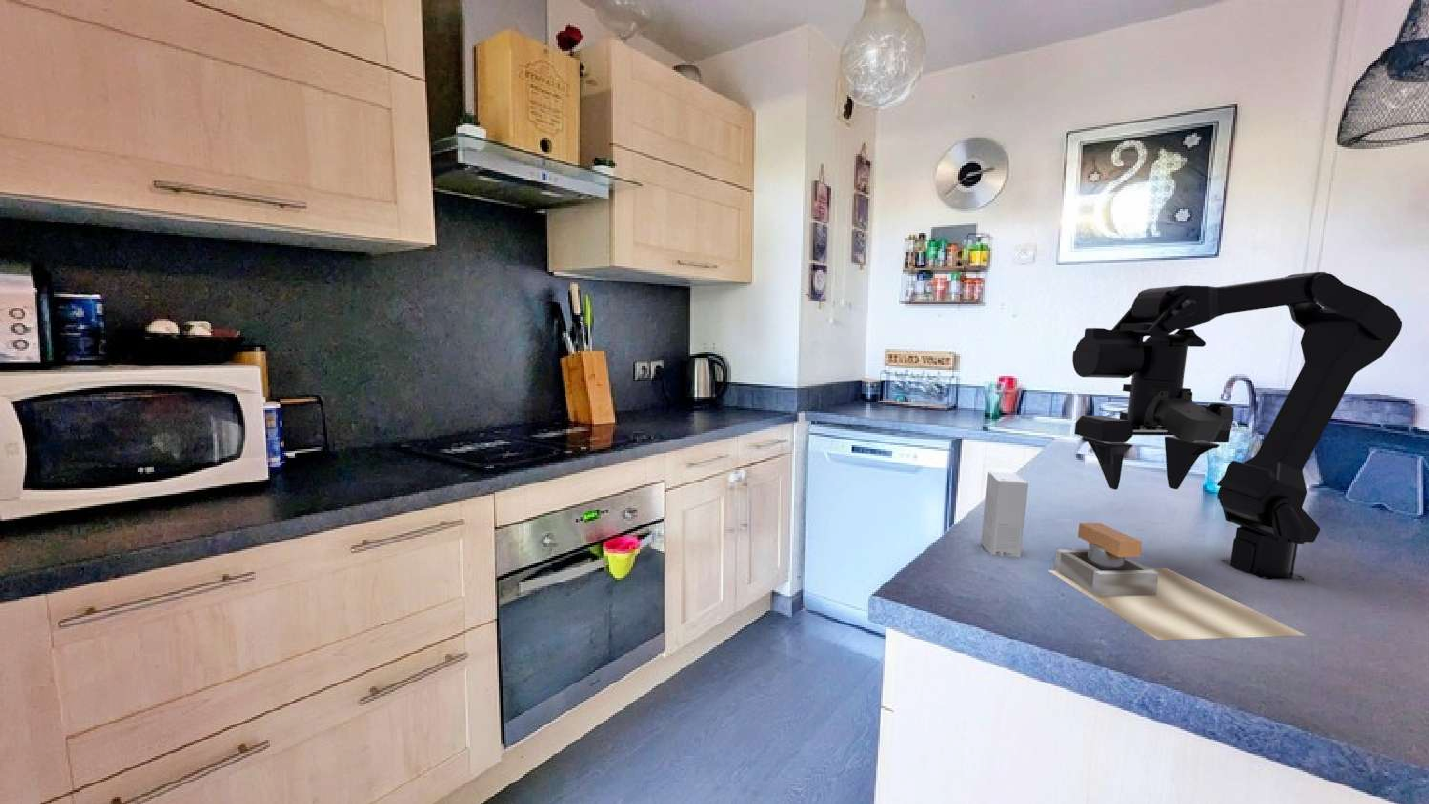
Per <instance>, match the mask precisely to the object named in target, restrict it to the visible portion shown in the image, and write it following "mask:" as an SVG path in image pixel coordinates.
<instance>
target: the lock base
mask: <svg viewBox="0 0 1429 804" xmlns="http://www.w3.org/2000/svg"><path fill="white" fill-rule="evenodd" d="M1088 553H1089V548H1078V549H1077V548H1074V549H1073V548H1070V549H1056V550H1055V561H1054V569H1047V571H1048V572H1049V573H1051V574H1052V575H1054V576H1055V577H1057V578H1058V579H1060V580H1061V581H1063V582H1065V583H1066V584H1069V586H1071V587H1072V588H1074V589H1076V590H1077V591H1079V592H1081V593H1082V594H1084V595H1085V596H1086V597H1089V598H1090V599H1092V600H1094V601H1095V602H1096V603H1098V604H1100V605H1101V606H1102V607H1104V608H1106V609H1107V610H1108V611H1110V612H1112V613H1114V614H1116V615H1117V616H1118V617H1120V618H1122V619H1123V620H1124V621H1125V622H1128V623H1129V624H1131V625H1133V626H1134V627H1136V628H1137V629H1139V630H1140V631H1142V632H1143V633H1144V634H1146V635H1148V636H1150V637H1151V638H1153V639H1155V641H1161V642H1162V641H1163V642H1164V641H1188V640H1191V641H1192V640H1193V641H1194V640H1216V639H1217V640H1218V639H1219V640H1221V639H1223V640H1225V639H1250V638H1281V637H1282V638H1283V637H1307V634H1304V633H1302V632H1301V631H1298V630H1296V629H1294V628H1292V627H1290V626H1288V625H1286V624H1284V623H1282V622H1280V621H1278V620H1275V619H1274V618H1272V617H1270V616H1267V615H1265V614H1263V613H1260V612H1259V611H1256V610H1255V609H1253V608H1251V607H1249V606H1246V605H1245V604H1242V603H1240V602H1238V601H1236V600H1233V599H1232V598H1230V597H1227V596H1226V595H1223V593H1222V594H1221V593H1219V592H1217V591H1215V590H1213V589H1212V588H1209V587H1207V586H1205V585H1203V584H1201V583H1199V582H1197V581H1194V580H1192V579H1190V578H1188V577H1186V576H1184V575H1182V574H1179V573H1178V572H1175V571H1173V570H1172V569H1169V568H1168V567H1147V566H1145V565H1144V564H1141V563H1139V562H1138V561H1135V560H1133V559H1131V558H1130V557H1125V562H1124V570H1114V571H1101V570H1099V569H1097V568H1095V567H1094V566H1092V565H1090V564H1088V563H1087V561H1088Z"/></svg>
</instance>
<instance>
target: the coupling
mask: <svg viewBox="0 0 1429 804" xmlns="http://www.w3.org/2000/svg"><path fill="white" fill-rule="evenodd" d="M1078 526H1079V527H1078V536H1077V537H1078V538H1079V539H1081V540H1083V541H1086V542H1087V543H1089V546H1088V549H1089V553H1088V561H1087V563H1088V564H1090V565H1092V566H1094V567H1095V568H1097V569H1099V570H1101V571H1114V570H1124V562H1125V557H1127V558H1140V557H1141V550H1142V543H1143V542H1142V541H1141V540H1138V539H1137V538H1134V537H1132V536H1130V535H1127V534H1125V533H1123V532H1121V531H1119V530H1118V529H1117V530H1116V529H1114V528H1112V527H1109V526H1107V525H1105V524H1103V523H1101V522H1079V525H1078Z"/></svg>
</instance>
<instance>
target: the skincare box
mask: <svg viewBox="0 0 1429 804" xmlns="http://www.w3.org/2000/svg"><path fill="white" fill-rule="evenodd" d="M986 478H987V479H986V488H985V499H984V501H985V502H984V509H983V511H984V512H983V520H982V521H983V522H982V532H981V533H982V534H981V545H982V547H983V548H984V549H985V551H986V552H989V553H990V555H991V556H1000V557H1001V556H1002V557H1011V558H1021V557H1022V548H1023V538H1024V537H1023V536H1024V527H1025V517H1026V506H1027V499H1028V498H1027V495H1028V487H1029V485H1028V482H1027V481H1026V480H1024V479H1023V478H1022V477H1020V476H1019V475H1018V474H1016V473H1015V472H1000V471H988V472H987V477H986Z"/></svg>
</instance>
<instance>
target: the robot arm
mask: <svg viewBox="0 0 1429 804" xmlns="http://www.w3.org/2000/svg"><path fill="white" fill-rule="evenodd" d="M1283 306H1287V308H1288V311H1289V315H1290V318H1291V320H1292V322H1294V323H1295V324H1296V325H1297V326H1299V327H1300V328H1301V329H1302V330H1304V331H1303V334H1302V337H1301V340H1300V346H1301V351H1302V355H1303V359H1304V363H1303V366H1302V368H1301V369H1300V372H1299V374H1298V375H1297V377H1296V379H1295V381H1294V383H1293V385H1292V386H1291V388H1290V390H1289V392H1288V394H1287V396H1286V398H1285V399H1284V402H1283V404H1282V405H1281V407H1280V409H1279V411H1278V413H1277V415H1276V416H1275V419H1274V420H1273V423H1272V424H1271V426H1270V428H1269V430H1268V432H1267V433H1266V435H1265V437H1264V439H1263V441H1262V442H1261V445H1260V447H1259V449H1258V451H1256V454H1255V455H1254V456H1253V457H1251V458H1249V459H1248V460H1246V461H1245V462H1240V461H1236V460H1232V461H1230V462H1229V464H1227V467H1226V471H1225V472H1224V475H1223V477H1222V478H1221V479H1220V480H1219V481H1218V482H1217V483H1216V485H1217V486H1218V487H1219V489H1218V491H1217V499H1218V500H1219V503H1220V506H1221V507H1222V509H1223V510H1222V511H1223V514H1224V519H1225V521H1226V522H1229V523H1233V524H1235V525H1237V527H1236V529H1235V531H1236V532H1235V537H1234V538H1233V541H1232V548H1231V552H1230V553H1231V556H1230V559H1221V560H1220V561H1221V562H1222V563H1225V564H1227V565H1230V566H1231V567H1233V568H1235V569H1237V570H1240V571H1243V572H1245V573H1247V574H1251V575H1253V576H1256V577H1257V578H1260V579H1263V580H1301V581H1304V582H1305V581H1306V577H1305V576H1303V575H1300V574H1297V573H1295V572H1294V569H1295V565H1296V564H1295V563H1296V557H1297V550H1298V545H1305V543H1309V544H1310V543H1314V542H1315V541H1316V539H1317V537H1318V535H1319V533H1320V532H1321V527H1319V525H1318V524H1317V523H1316V522H1315V521H1314V520H1313V518H1312V517H1311V516H1310V515H1309V514H1308V513H1307V511H1306V510H1304V508H1303V507H1304V503H1305V502H1306V501H1305V500H1306V498H1307V495H1308V490H1307V489H1308V488H1307V485H1306V479H1305V475H1304V468H1305V466H1306V464H1307V463H1308V461H1309V459H1310V457H1311V455H1312V454H1313V451H1314V450H1315V448H1316V446H1317V444H1318V442H1319V441H1320V438H1321V437H1322V435H1323V434H1324V431H1325V429H1326V428H1327V425H1329V422H1330V420H1331V418H1332V416H1333V415H1334V412H1335V411H1336V409H1337V408H1338V405H1339V404H1340V402H1341V400H1342V398H1343V396H1344V395H1345V393H1346V391H1347V389H1348V387H1349V386H1350V384H1351V382H1352V380H1353V378H1354V376H1355V375H1356V374H1357V373H1358V372H1360V371H1362V370H1363V369H1364V368H1366V367H1367V366H1370V365H1371V364H1373V363H1374V362H1376V361H1377V360H1378V359H1380V358H1382V357H1383V356H1384V355H1385V353H1386V352H1387V351H1388V349H1389V348H1390V347H1391V346H1392V344H1393V343H1394V342H1395V341H1396V339H1397V338H1398V336H1399V334H1400V333H1401V330H1402V328H1403V322H1402V320H1401V318H1400V316H1399V315H1398V313H1397V312H1396V310H1395V309H1394V308H1393V307H1391V306H1389V305H1387V304H1385V303H1383V302H1382V301H1381V300H1380V299H1379V298H1378V297H1377V296H1374V295H1372V294H1369V293H1367V292H1364V291H1362V290H1360V289H1357V288H1355V287H1353V286H1350V285H1348V284H1346V283H1344V282H1343V281H1341V280H1340V279H1339V278H1338V277H1337V276H1335V275H1334V274H1332V273H1328V272H1325V271H1315V272H1305V273H1304V272H1303V273H1293V274H1290V275H1289V274H1288V275H1287V276H1284V277H1279V278H1273V279H1272V278H1271V279H1264V280H1257V281H1251V282H1249V281H1248V282H1244V283H1237V284H1230V285H1223V286H1210V285H1190V284H1189V285H1188V284H1187V285H1175V286H1163V287H1162V286H1161V287H1153V288H1152V287H1150V288H1147V289H1144V290H1143V289H1142V290H1141V291H1139V292H1138V293H1137V296H1136V297H1135V298H1134V299H1133V301H1132V304H1131V307H1130V308H1129V309H1128V310H1127V312H1126V313H1125V314H1124V315H1123V316H1122V317H1121V318H1120V319H1119V320H1118V322H1117V323H1116V324H1115V325H1114V326H1113V327H1112V328H1111V329H1107V328H1102V327H1101V328H1100V327H1098V328H1097V327H1091V328H1090V327H1087V328H1085V329H1084V337H1082V338H1081V339H1080V340H1078V343H1077V345H1076V347H1075V349H1074V350H1073V351H1072V355H1071V356H1072V357H1071V359H1072V366H1073V370H1074V371H1075V374H1077V375H1078V376H1079V377H1081V378H1096V379H1097V378H1102V379H1103V378H1105V379H1127V378H1130V377H1131V379H1130V380H1131V381H1130V383H1123V387H1122V392H1128V393H1129V398H1128V406H1127V411H1126V412H1125V411H1123V412H1122V411H1121V412H1119V418H1117V417H1110V416H1106V415H1081V416H1080V417H1079V418H1078V419H1077V420H1076V422H1075V427H1074V435H1077V436H1081V438H1082V441H1085V442H1086V443H1087V442H1088V444H1089V446H1090V448H1091V450H1092V452H1093V454H1094V455H1095V457H1096V459H1097V461H1098V464H1099V466H1100V468H1101V471H1102V473H1103V476H1104V477H1105V480H1106V484H1107V485H1108V487H1109V488H1110V489H1111V490H1115V491H1116V490H1118V489H1119V486H1120V483H1121V482H1120V481H1121V476H1122V471H1123V462H1124V456H1125V454H1126V453H1127V452H1128V451H1129V450H1130V449H1131V448H1132V447H1133V444H1130V443H1128V441H1129V440H1130V439H1131V438H1132V437H1133V436H1164V448H1165V458H1166V459H1165V460H1166V461H1165V463H1166V464H1165V465H1166V478H1167V482H1168V483H1167V484H1168V487H1169V488H1170V489H1173V490H1178V489H1179V488H1180V486H1181V485H1182V483H1184V480H1185V479H1186V477H1187V475H1188V474H1189V472H1190V471H1191V468H1192V467H1193V466H1194V464H1195V463H1196V461H1197V460H1198V458H1199V457H1200V456H1201V455H1203V454H1204V453H1207V452H1208V451H1210V450H1213V449H1217V448H1219V447H1220V444H1219V443H1229V442H1230V436H1231V429H1232V425H1233V423H1234V412H1235V411H1234V408H1235V407H1233V406H1232V405H1230V404H1228V403H1226V402H1211V403H1210V404H1208V405H1206V404H1199V403H1198V404H1197V403H1196V402H1193V392H1192V391H1191V390H1192V388H1188V387H1184V382H1185V381H1184V379H1185V373H1186V365H1187V359H1188V350H1189V347H1200V348H1202V347H1203V348H1204V347H1205V346H1206V345H1207V342H1206V340H1204V339H1203V338H1202V337H1200V336H1199V335H1197V333H1196V332H1195V331H1194V329H1191V328H1193V327H1196V326H1199V325H1203V324H1206V323H1209V322H1211V321H1212V320H1214V319H1216V318H1218V317H1221V316H1224V315H1227V314H1228V315H1229V314H1235V313H1241V312H1249V311H1250V312H1251V311H1256V310H1261V309H1262V310H1263V309H1268V308H1269V309H1270V308H1276V307H1277V308H1278V307H1283ZM1176 330H1177V331H1176ZM1175 331H1176V332H1175ZM1145 337H1148V338H1147V339H1145V340H1144V338H1145ZM1238 526H1239V527H1238Z"/></svg>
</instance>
